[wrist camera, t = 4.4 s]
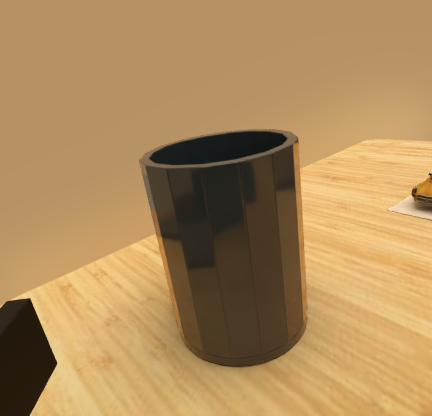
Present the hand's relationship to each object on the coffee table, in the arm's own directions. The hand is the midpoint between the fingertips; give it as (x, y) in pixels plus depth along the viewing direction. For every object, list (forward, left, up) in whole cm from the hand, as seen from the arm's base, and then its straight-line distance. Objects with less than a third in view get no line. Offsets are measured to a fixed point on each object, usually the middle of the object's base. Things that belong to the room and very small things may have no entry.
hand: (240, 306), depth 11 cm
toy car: (+21, +22, -8) cm, 31 cm away
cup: (0, +9, -7) cm, 11 cm away
